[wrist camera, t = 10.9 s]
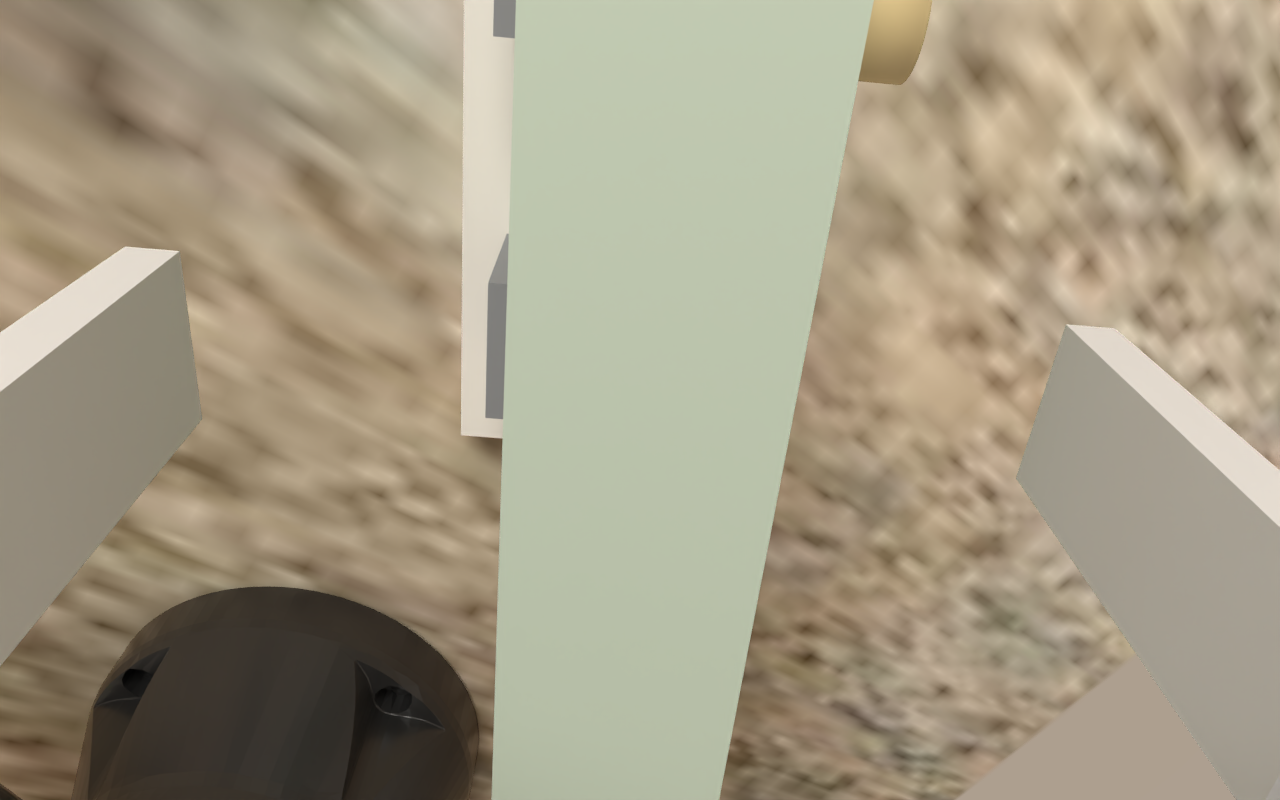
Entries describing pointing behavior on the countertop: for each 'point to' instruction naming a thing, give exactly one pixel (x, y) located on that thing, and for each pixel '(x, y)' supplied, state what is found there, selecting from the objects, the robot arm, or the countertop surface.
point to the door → (658, 363)
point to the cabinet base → (486, 210)
